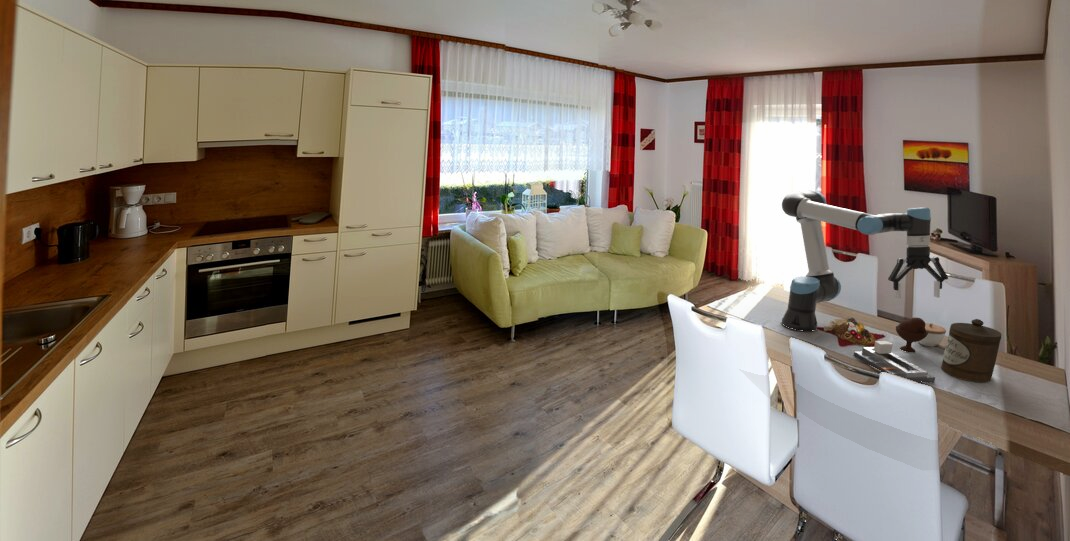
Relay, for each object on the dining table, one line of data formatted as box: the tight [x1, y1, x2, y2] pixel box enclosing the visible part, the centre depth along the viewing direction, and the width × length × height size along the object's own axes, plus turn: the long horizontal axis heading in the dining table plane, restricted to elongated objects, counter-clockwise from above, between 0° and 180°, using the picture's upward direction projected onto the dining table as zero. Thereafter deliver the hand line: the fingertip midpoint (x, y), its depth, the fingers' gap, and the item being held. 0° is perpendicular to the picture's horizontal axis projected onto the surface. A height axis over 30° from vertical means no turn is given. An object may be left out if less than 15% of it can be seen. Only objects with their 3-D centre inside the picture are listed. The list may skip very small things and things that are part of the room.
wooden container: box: [940, 318, 1002, 383], centre depth 187 cm, size 15×15×22 cm
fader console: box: [853, 346, 936, 384], centre depth 194 cm, size 24×14×4 cm, turn 4°
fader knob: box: [873, 340, 893, 359], centre depth 199 cm, size 3×5×6 cm
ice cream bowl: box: [895, 317, 929, 354], centre depth 209 cm, size 11×11×15 cm
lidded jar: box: [918, 322, 947, 347], centre depth 216 cm, size 11×11×9 cm
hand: (917, 297), depth 203 cm, fingers open, 13 cm apart
